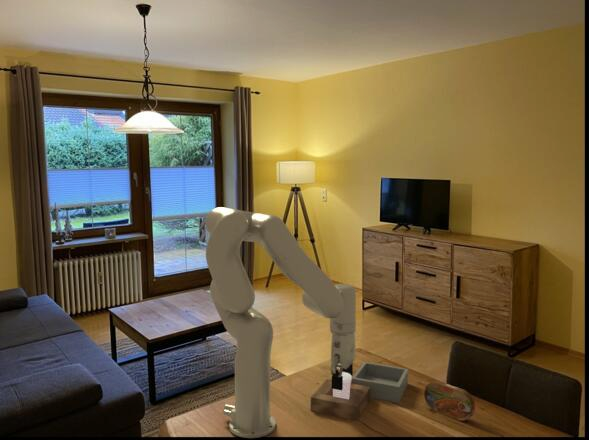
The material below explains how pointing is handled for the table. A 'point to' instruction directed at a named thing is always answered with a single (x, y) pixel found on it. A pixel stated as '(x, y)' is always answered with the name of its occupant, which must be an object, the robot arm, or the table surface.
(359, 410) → the holder block
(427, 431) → the table surface
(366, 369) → the tray
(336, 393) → the beverage cup
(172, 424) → the table surface
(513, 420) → the table surface
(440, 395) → the tin
